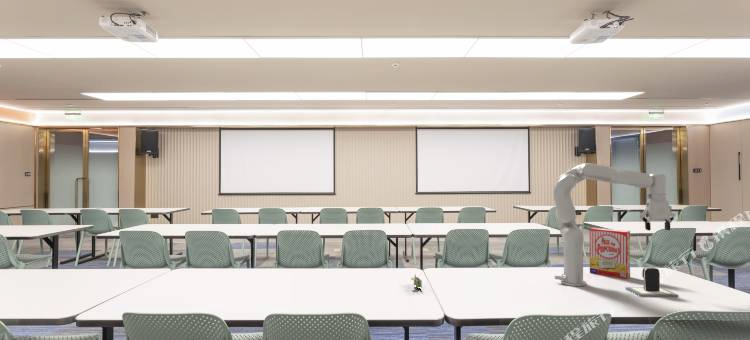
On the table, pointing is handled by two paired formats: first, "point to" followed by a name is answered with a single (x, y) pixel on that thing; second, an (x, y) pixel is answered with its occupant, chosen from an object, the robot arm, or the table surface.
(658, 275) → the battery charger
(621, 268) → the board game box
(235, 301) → the table surface
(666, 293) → the writing board
